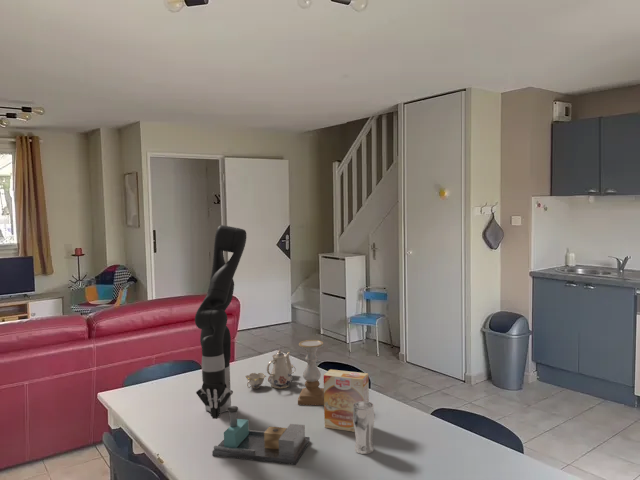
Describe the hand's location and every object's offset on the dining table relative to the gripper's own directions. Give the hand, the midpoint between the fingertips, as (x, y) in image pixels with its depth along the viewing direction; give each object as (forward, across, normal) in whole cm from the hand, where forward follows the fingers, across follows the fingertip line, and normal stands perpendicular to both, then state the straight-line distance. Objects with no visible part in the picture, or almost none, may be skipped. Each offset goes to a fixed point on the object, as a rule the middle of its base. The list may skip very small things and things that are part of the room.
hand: (215, 417), depth 174 cm
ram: (+7, -7, 0) cm, 10 cm away
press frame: (+9, -16, 0) cm, 19 cm away
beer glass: (+10, -50, -5) cm, 51 cm away
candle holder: (+9, -22, -44) cm, 50 cm away
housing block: (+8, -21, 0) cm, 23 cm away
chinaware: (+9, -1, -60) cm, 60 cm away
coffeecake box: (+10, -41, -22) cm, 47 cm away
